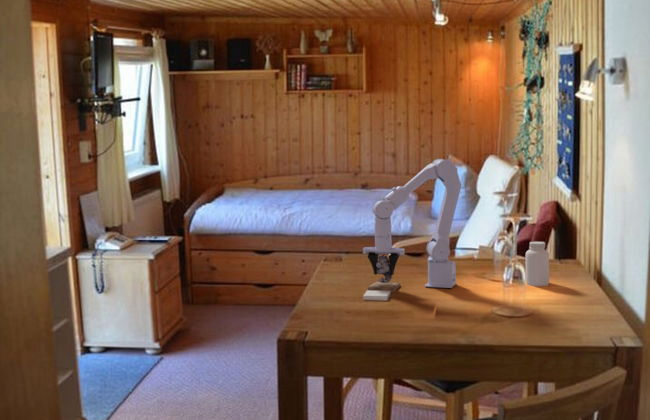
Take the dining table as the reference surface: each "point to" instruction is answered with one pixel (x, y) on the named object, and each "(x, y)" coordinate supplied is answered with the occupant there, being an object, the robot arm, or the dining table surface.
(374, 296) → the ceramic tile
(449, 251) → the robot arm
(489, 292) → the dining table surface
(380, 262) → the seashell
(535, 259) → the pill bottle
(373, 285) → the walnut base
